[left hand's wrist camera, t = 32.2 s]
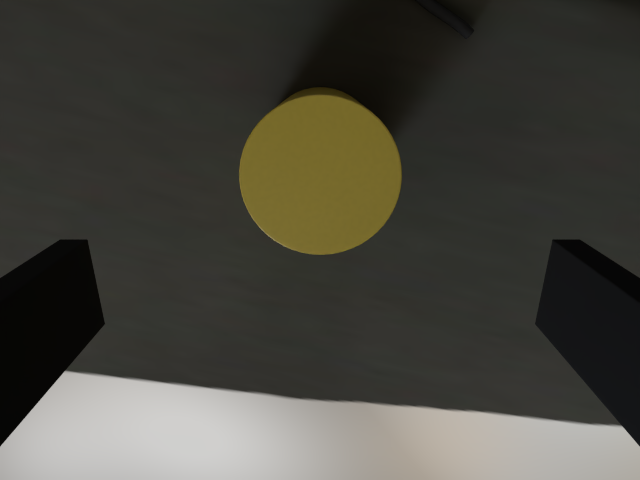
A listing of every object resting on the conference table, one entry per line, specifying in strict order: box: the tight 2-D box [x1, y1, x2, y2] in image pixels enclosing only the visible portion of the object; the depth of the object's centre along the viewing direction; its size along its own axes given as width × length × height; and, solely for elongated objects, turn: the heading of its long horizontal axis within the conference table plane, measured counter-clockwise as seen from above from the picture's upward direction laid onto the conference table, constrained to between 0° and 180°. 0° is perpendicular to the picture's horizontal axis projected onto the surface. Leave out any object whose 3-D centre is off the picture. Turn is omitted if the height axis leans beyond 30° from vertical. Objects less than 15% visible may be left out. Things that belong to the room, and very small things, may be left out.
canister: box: [239, 87, 402, 255], centre depth 30 cm, size 9×9×12 cm
